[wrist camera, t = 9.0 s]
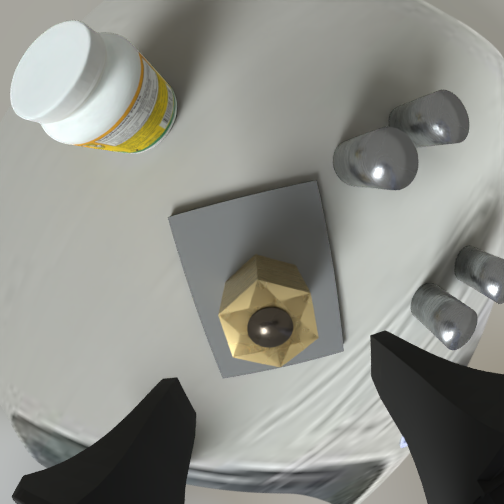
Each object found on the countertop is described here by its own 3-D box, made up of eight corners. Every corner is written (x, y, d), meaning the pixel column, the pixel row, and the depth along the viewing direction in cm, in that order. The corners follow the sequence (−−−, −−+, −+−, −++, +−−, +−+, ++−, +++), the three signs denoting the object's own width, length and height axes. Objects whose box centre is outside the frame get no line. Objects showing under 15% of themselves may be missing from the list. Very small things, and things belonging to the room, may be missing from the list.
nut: (306, 318, 18) (322, 358, 14) (241, 334, 18) (239, 376, 14) (291, 245, 17) (306, 268, 12) (219, 262, 17) (210, 291, 12)
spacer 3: (439, 311, 19) (473, 340, 14) (410, 323, 19) (443, 356, 14) (440, 278, 18) (479, 303, 13) (410, 289, 18) (448, 318, 13)
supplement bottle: (195, 117, 15) (137, 53, 6) (128, 172, 16) (23, 172, 7) (150, 62, 14) (80, -14, 5) (90, 114, 15) (-11, 84, 6)
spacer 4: (476, 275, 18) (514, 295, 13) (454, 285, 18) (492, 309, 13) (477, 242, 17) (518, 258, 13) (454, 250, 18) (496, 269, 13)
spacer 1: (380, 182, 16) (422, 185, 11) (338, 190, 16) (372, 195, 12) (370, 136, 16) (410, 124, 11) (327, 143, 16) (357, 130, 11)
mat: (341, 346, 19) (343, 350, 19) (223, 373, 20) (222, 378, 19) (314, 180, 16) (316, 180, 16) (170, 216, 17) (167, 217, 16)
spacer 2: (427, 146, 16) (473, 142, 11) (394, 150, 16) (438, 144, 11) (417, 106, 15) (460, 91, 10) (383, 107, 15) (424, 88, 10)
